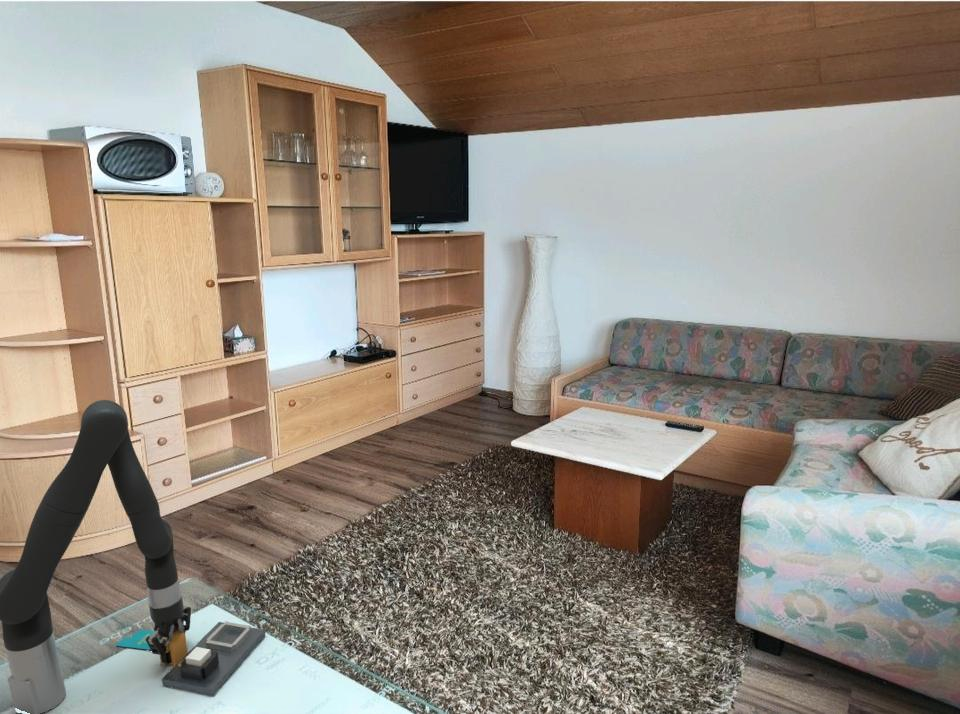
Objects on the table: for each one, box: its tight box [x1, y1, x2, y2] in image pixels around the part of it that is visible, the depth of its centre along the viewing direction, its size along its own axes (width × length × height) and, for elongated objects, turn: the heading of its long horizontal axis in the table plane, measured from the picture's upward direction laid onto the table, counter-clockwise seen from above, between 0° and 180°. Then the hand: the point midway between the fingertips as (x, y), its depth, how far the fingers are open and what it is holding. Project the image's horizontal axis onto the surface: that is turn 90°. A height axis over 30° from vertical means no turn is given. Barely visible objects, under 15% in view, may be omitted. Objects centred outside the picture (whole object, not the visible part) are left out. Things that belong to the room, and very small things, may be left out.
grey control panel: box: [161, 621, 266, 697], centre depth 167 cm, size 22×14×5 cm, turn 165°
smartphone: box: [116, 629, 154, 652], centre depth 175 cm, size 7×1×15 cm
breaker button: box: [186, 647, 211, 667], centre depth 161 cm, size 4×4×4 cm
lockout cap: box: [159, 632, 189, 666], centre depth 168 cm, size 4×4×6 cm
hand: (174, 656), depth 169 cm, fingers closed on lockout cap, 4 cm apart
